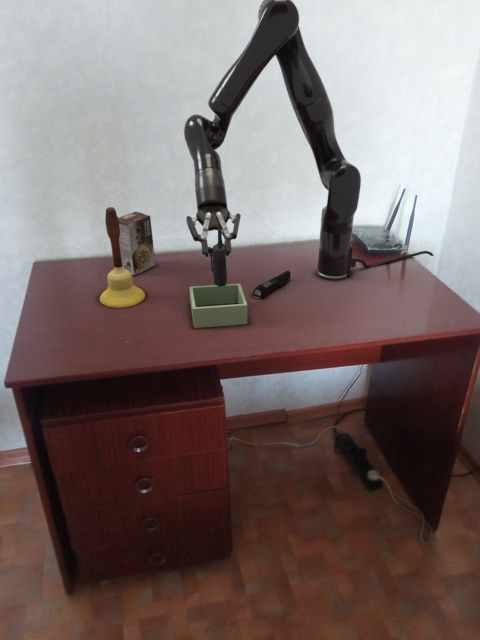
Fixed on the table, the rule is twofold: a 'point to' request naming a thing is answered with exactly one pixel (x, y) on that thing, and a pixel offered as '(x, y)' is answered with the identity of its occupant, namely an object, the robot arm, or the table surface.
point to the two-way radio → (219, 261)
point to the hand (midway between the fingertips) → (217, 254)
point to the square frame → (218, 314)
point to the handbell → (118, 271)
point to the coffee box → (136, 242)
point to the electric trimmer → (271, 284)
